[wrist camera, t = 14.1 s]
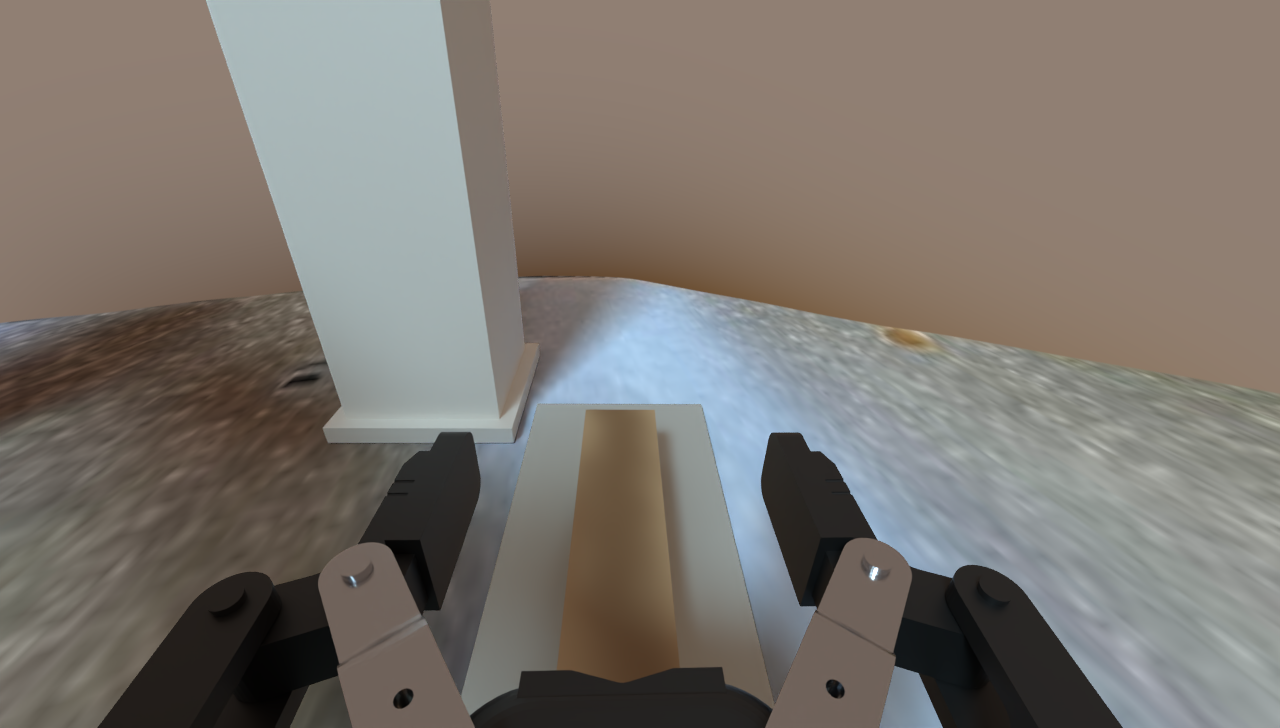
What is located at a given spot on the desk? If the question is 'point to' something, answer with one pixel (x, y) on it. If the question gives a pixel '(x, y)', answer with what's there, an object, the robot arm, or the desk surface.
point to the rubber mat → (540, 547)
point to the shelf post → (391, 205)
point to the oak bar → (619, 555)
